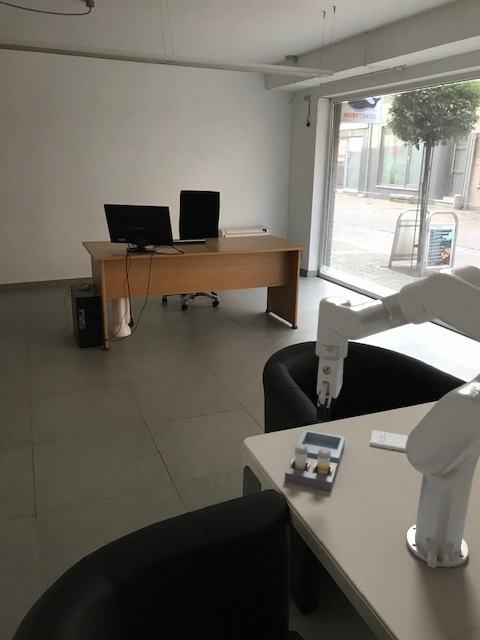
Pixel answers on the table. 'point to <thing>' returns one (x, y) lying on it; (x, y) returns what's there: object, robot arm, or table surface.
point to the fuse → (300, 457)
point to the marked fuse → (323, 461)
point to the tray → (323, 444)
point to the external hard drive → (388, 440)
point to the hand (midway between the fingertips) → (326, 411)
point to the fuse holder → (311, 474)
